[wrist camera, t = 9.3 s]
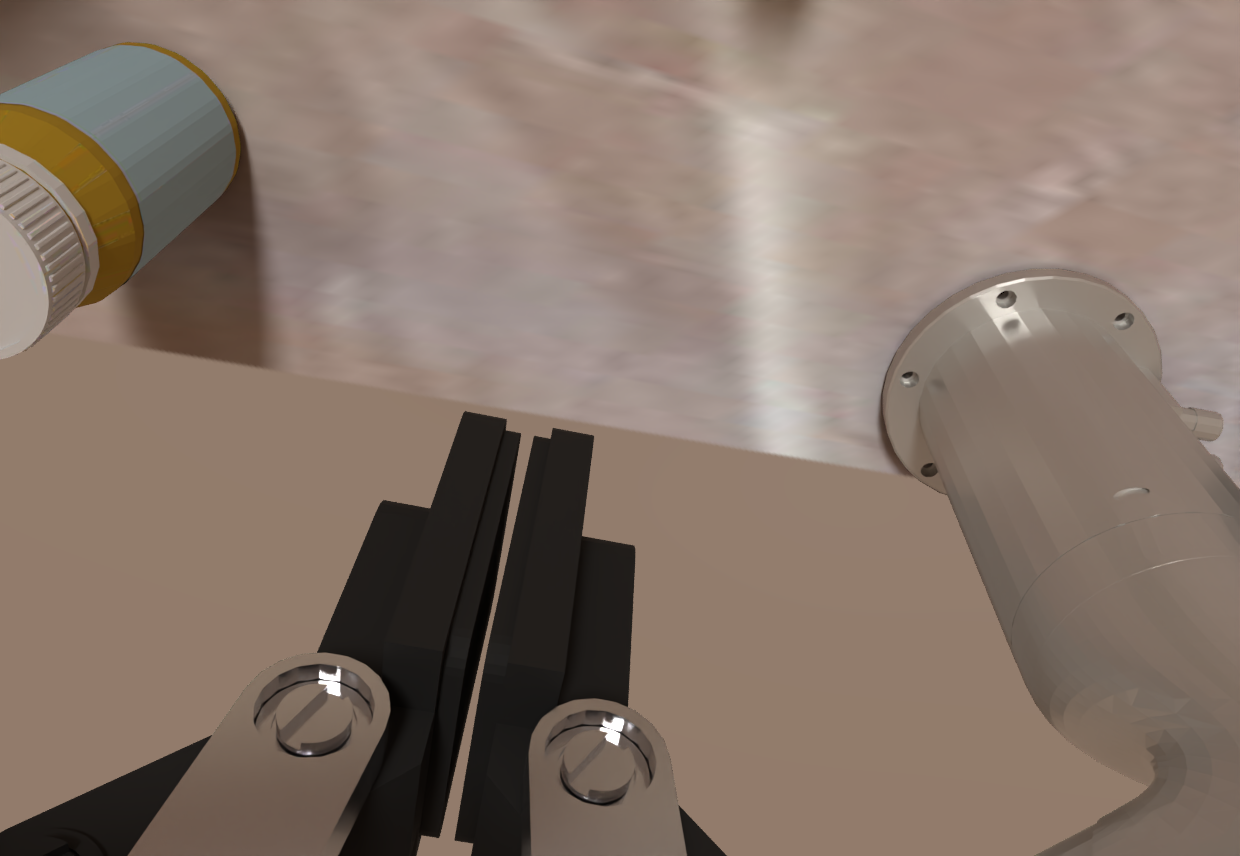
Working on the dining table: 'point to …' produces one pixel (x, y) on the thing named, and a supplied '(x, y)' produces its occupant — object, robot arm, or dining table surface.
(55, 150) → the bottle
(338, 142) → the dining table surface
